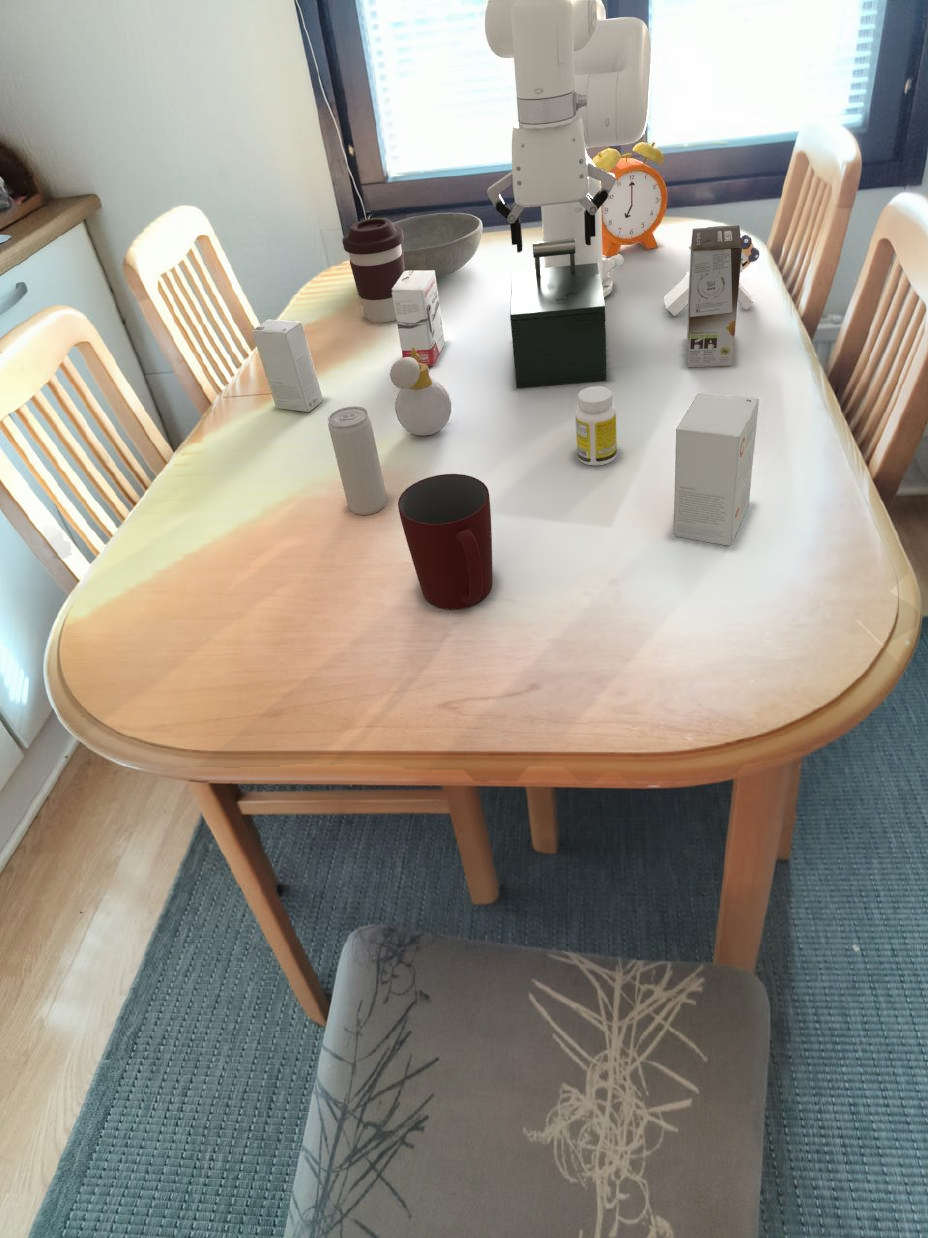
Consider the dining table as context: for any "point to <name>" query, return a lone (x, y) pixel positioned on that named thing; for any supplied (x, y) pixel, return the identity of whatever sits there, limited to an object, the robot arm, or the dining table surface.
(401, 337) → the ink box
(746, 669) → the dining table surface
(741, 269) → the figurine
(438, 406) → the perfume bottle
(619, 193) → the alarm clock
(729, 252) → the coffee box
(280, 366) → the cosmetic box
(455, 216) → the bowl
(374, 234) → the coffee cup
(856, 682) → the dining table surface
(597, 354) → the bin
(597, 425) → the supplement bottle
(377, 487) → the beverage can
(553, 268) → the dark green block
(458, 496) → the mug
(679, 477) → the small box
